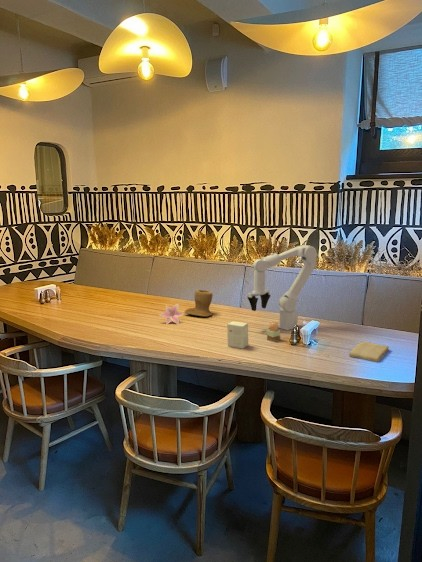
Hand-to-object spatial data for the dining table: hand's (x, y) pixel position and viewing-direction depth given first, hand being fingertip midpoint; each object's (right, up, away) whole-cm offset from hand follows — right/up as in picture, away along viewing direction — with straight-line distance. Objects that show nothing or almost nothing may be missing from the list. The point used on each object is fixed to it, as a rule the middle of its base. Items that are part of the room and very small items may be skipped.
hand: (258, 309), depth 210 cm
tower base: (+5, -14, -15) cm, 21 cm away
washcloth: (+43, -17, -34) cm, 58 cm away
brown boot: (-30, -6, +30) cm, 43 cm away
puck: (+5, -9, -16) cm, 19 cm away
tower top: (+5, -11, -15) cm, 20 cm away
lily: (-46, -9, +16) cm, 49 cm away
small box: (-12, -15, -22) cm, 30 cm away
